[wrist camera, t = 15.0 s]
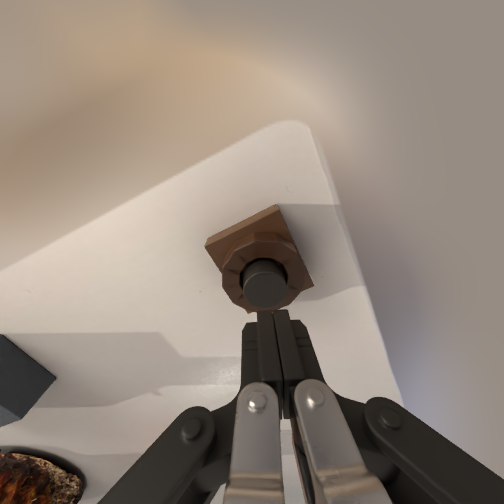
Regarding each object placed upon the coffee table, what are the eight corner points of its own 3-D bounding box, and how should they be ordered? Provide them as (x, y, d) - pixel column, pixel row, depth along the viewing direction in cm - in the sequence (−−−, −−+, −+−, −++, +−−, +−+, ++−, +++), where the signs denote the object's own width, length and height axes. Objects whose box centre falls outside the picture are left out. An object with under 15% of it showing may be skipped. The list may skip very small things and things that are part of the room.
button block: (207, 238, 17) (199, 257, 14) (275, 203, 17) (283, 215, 13) (247, 301, 20) (248, 329, 17) (308, 275, 19) (321, 299, 16)
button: (236, 269, 15) (235, 283, 14) (273, 252, 15) (276, 264, 13) (254, 299, 16) (255, 315, 15) (289, 284, 16) (294, 298, 14)
